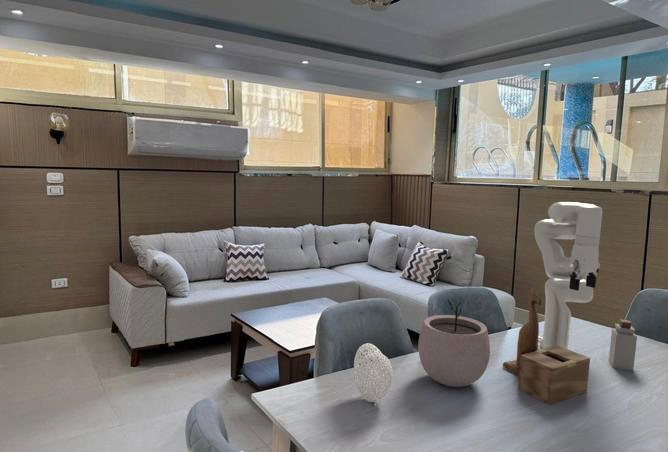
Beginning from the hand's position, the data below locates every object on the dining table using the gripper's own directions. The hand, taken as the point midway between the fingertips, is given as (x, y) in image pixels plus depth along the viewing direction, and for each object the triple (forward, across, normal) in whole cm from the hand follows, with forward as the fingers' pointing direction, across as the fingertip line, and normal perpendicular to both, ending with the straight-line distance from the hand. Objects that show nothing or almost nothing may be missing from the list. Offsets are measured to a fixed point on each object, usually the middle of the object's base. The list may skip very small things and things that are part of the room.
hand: (582, 288), depth 160 cm
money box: (+33, +17, +3) cm, 37 cm away
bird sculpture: (+33, +13, -11) cm, 37 cm away
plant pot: (+33, +44, -17) cm, 58 cm away
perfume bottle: (+34, -27, +2) cm, 43 cm away
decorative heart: (+33, +77, -17) cm, 86 cm away
